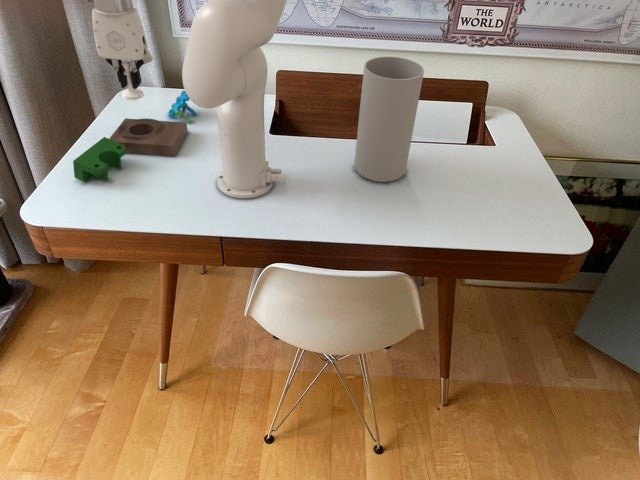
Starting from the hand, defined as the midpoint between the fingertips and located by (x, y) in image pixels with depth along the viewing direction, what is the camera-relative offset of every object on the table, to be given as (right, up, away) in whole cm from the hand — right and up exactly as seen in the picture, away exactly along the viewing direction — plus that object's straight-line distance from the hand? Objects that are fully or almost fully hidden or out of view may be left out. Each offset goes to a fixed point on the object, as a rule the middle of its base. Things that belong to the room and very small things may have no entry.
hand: (131, 85), depth 115 cm
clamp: (-5, -21, -2) cm, 22 cm away
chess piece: (0, -2, +2) cm, 3 cm away
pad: (+2, -12, +9) cm, 15 cm away
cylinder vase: (+59, -19, +4) cm, 62 cm away
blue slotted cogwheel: (+6, -2, +20) cm, 21 cm away
